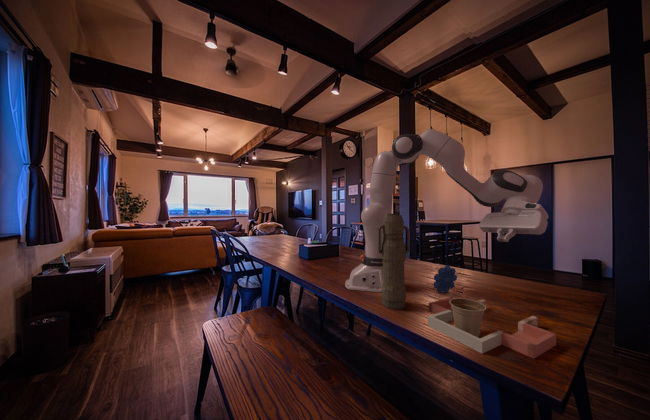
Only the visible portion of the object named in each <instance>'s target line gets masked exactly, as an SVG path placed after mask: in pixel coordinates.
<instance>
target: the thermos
mask: <svg viewBox="0 0 650 420" xmlns="http://www.w3.org/2000/svg"><path fill="white" fill-rule="evenodd" d="M381 228H383V234H384V237H383V242H382V249H381ZM404 234H405V237H404ZM404 238H405V239H404ZM377 240H378V253H381V254H382V260H383V284H382V292H381V299H382V301H381V305H382V306H383V307H384V306H385V307H384V308H386V307H387V309H389V308H390V310H402V309H405V308H406V305H407V304H406V300H407V287H406V286H405V262H406V259H407V258H406V254H408V253H409V252H410V229H409V227H408V226H406V225H405V223H404V218H403V216H402V214H400V213H391V214H387V215H385V217H384V220H383V225H382V226H379V228H378V229H377Z"/></svg>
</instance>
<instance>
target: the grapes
mask: <svg viewBox="0 0 650 420" xmlns="http://www.w3.org/2000/svg"><path fill="white" fill-rule="evenodd" d="M456 272H457V271H456V268H454V267H451V266H450V265H447V264H446V265H445V266H444V267H439V268H438V270H437V273H436V274H434V276H433V280H434V282H433V283H432V285H433V288H434V289H436V292H437V293H439V294H442V293H444V294H447V293H449V292H450V289H454V288H455V286H456V283H455V282H457V279H458V276H457V274H456Z"/></svg>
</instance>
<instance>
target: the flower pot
mask: <svg viewBox="0 0 650 420" xmlns="http://www.w3.org/2000/svg"><path fill="white" fill-rule="evenodd" d="M453 298H454V299H451V300H450V301H449V303H450V304H451V308H452V310H453V317H454V320H453V323H454V327H456V328H458V329H461V330H463V331H465V332H467V333H469V334H471V335H474V336H476V337H478V338H480V335H481V329H482V328H481V327H482V323H483V317H484V315H485V311H486V310H487V305H486V306H485V305H484V304H482V303H480V302H478V301H479V300H474V299H470V298H464V297H453Z"/></svg>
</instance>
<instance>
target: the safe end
mask: <svg viewBox="0 0 650 420" xmlns="http://www.w3.org/2000/svg"><path fill="white" fill-rule="evenodd" d="M451 321H453V320H452V311H451V310H446V311H443V312H440V313H437V314H433V313H432V314H431V315H428V316H427V326H428V327H430V328H431V329H433V330H435V331H438V332H439V333H441V334H443V335H445V336H446V337H449V338H451V339H453V340H455V341H457V342H458V343H460V344H462V345H463V346H464V345H465V346H467V347H468V348H471V349H472V350H474V351H476V352H478V353H480V354H484V353H487V352H489V351H492V350H493V349H495V348H497V347H499V346H501V345H502V333H504V331H502V330H499V329H498V330H496V331H494V332H492V333H489V334H487V335H485V336H482V337H476V336H474V335H471V334H469V333H467V332H465V331H463V330H461V329H458V328H456V327H455V325H454V326H453V325H452V324H450V323H448V322H451Z"/></svg>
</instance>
